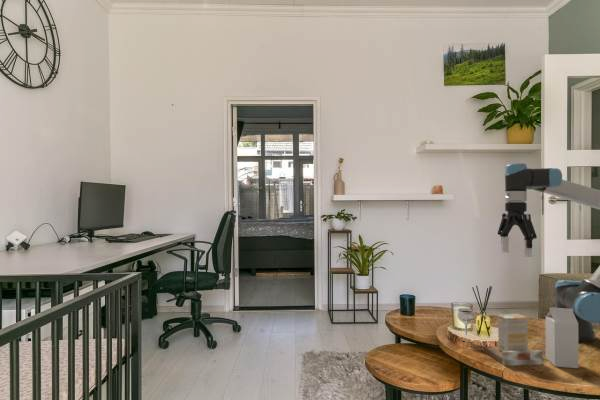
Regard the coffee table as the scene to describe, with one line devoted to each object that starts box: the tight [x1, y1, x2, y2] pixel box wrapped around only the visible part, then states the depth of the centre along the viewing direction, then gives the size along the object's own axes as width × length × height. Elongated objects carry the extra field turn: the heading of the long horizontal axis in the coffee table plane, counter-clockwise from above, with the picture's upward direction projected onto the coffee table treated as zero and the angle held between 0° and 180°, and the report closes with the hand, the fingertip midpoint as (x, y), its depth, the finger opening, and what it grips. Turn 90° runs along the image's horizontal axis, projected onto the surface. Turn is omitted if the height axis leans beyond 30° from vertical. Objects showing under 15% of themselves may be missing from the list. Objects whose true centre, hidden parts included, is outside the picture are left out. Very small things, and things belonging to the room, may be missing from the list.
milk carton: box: [545, 307, 579, 369], centre depth 129 cm, size 7×7×19 cm
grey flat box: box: [482, 345, 544, 367], centre depth 133 cm, size 14×12×4 cm
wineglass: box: [456, 307, 476, 336], centre depth 151 cm, size 7×7×12 cm
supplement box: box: [497, 313, 529, 352], centre depth 133 cm, size 8×5×13 cm, turn 96°
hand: (515, 254), depth 151 cm, fingers open, 13 cm apart
